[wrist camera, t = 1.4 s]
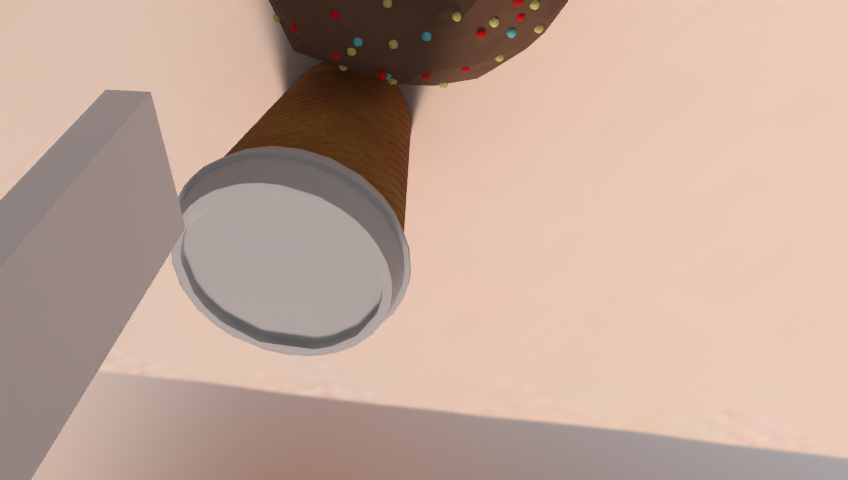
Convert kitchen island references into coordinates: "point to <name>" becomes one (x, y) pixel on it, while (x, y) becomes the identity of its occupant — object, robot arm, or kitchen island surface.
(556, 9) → the donut
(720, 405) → the kitchen island surface
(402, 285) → the disposable coffee cup
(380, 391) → the kitchen island surface
